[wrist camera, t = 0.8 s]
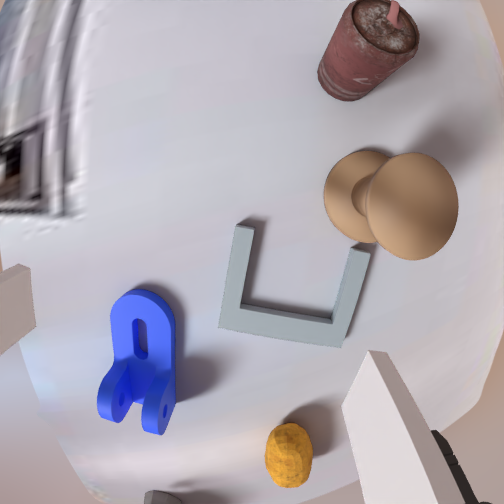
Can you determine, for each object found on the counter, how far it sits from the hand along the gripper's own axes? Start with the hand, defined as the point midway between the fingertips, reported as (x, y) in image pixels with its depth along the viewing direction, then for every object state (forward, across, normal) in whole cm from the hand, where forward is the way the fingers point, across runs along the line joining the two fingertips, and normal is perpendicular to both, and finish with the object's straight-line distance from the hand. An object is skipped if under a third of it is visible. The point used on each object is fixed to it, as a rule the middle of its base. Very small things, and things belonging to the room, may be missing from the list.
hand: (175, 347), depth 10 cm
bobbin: (+24, +13, +6) cm, 28 cm away
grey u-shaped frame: (+24, +7, -6) cm, 25 cm away
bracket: (+24, -9, -19) cm, 32 cm away
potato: (+24, +14, -32) cm, 42 cm away
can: (+24, +8, +19) cm, 32 cm away
